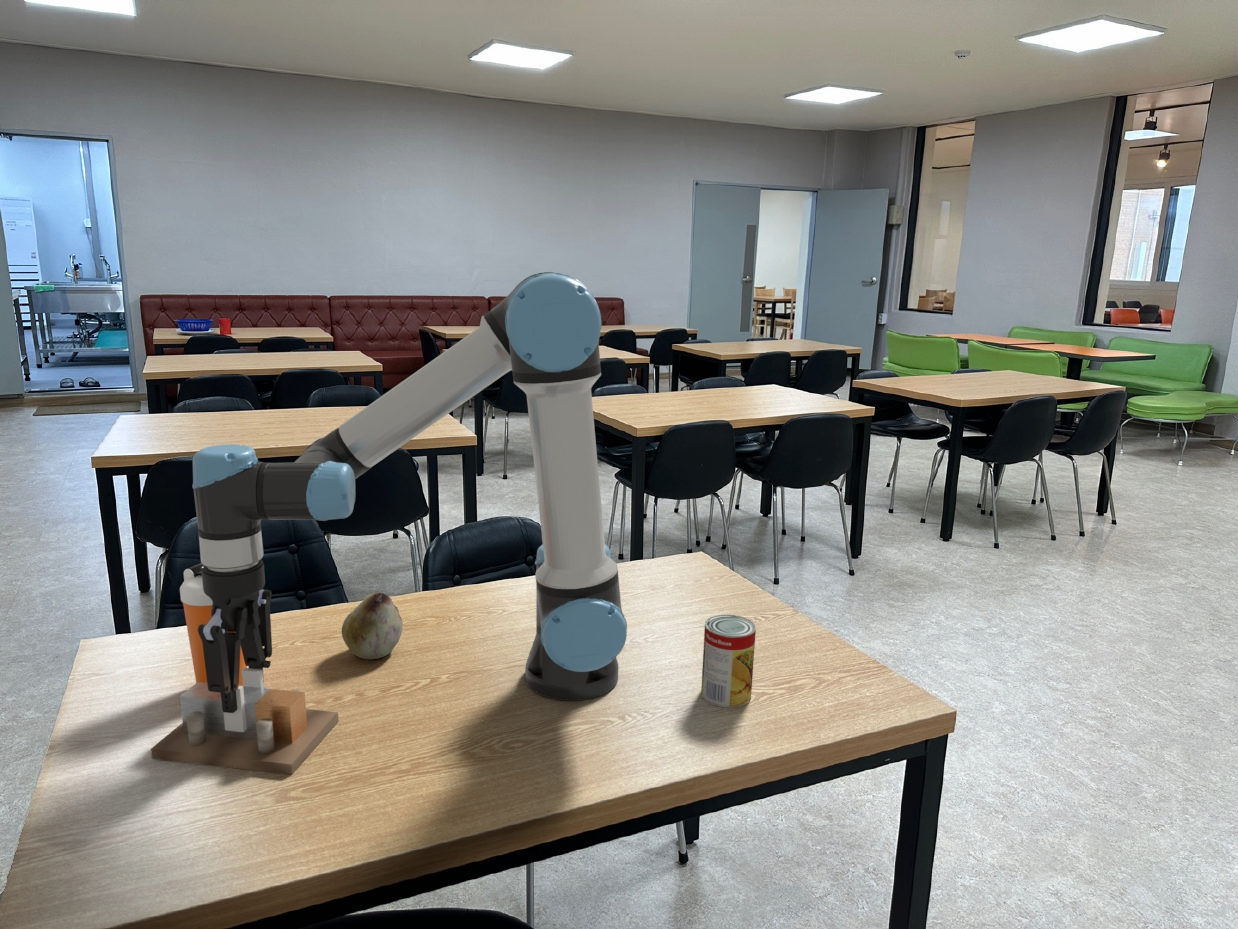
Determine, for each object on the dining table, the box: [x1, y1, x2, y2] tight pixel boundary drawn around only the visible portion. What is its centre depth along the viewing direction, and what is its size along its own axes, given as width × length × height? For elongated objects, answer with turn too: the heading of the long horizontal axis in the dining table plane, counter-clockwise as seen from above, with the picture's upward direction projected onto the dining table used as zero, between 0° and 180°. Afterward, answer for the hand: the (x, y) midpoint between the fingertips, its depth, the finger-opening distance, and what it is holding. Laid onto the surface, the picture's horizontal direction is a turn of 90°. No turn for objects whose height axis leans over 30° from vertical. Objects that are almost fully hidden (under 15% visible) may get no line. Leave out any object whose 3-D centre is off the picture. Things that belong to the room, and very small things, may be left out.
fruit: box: [341, 592, 404, 660], centre depth 140 cm, size 10×9×12 cm
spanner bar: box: [179, 682, 307, 743], centre depth 115 cm, size 16×4×6 cm, turn 82°
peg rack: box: [150, 689, 339, 775], centre depth 115 cm, size 20×13×6 cm, turn 82°
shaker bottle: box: [179, 562, 248, 686], centre depth 127 cm, size 9×9×20 cm
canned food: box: [700, 614, 757, 709], centre depth 130 cm, size 8×8×12 cm
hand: (245, 720), depth 115 cm, fingers open, 4 cm apart
